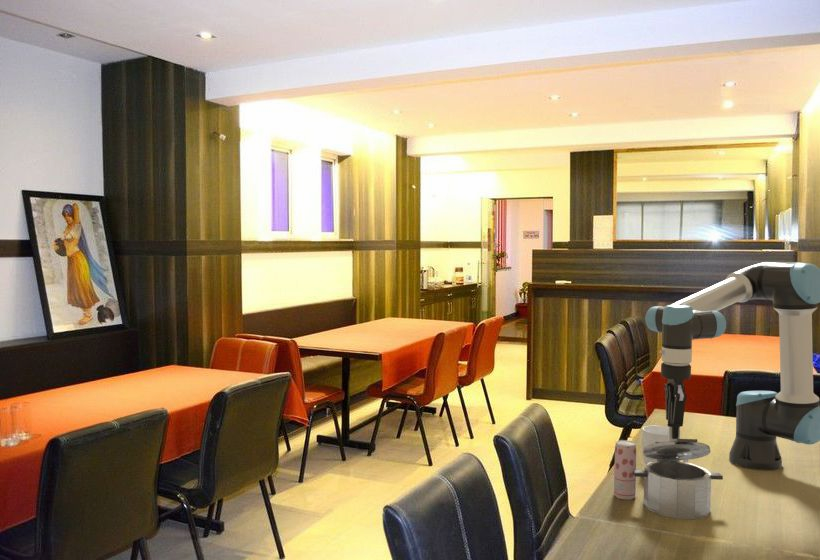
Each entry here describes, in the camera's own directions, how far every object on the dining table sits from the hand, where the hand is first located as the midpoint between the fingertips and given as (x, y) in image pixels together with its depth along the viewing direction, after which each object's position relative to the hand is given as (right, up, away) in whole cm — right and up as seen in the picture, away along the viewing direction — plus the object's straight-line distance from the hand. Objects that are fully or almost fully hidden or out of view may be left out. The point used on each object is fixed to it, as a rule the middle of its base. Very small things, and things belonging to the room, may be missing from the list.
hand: (673, 449), depth 188 cm
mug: (+6, -13, +25) cm, 29 cm away
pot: (0, -15, -3) cm, 15 cm away
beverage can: (-12, -14, +5) cm, 19 cm away
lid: (0, 0, -3) cm, 3 cm away
